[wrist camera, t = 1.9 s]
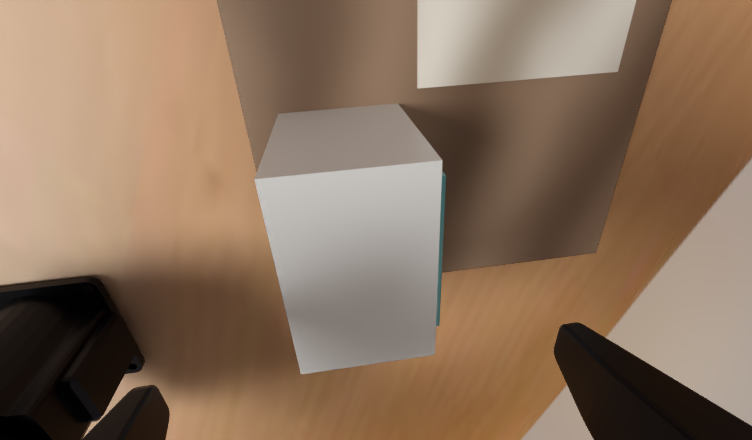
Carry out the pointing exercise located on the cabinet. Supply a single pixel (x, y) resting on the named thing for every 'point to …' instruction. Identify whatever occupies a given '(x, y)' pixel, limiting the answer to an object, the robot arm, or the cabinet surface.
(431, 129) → the shelf board
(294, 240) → the carton
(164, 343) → the cabinet surface
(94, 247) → the cabinet surface
